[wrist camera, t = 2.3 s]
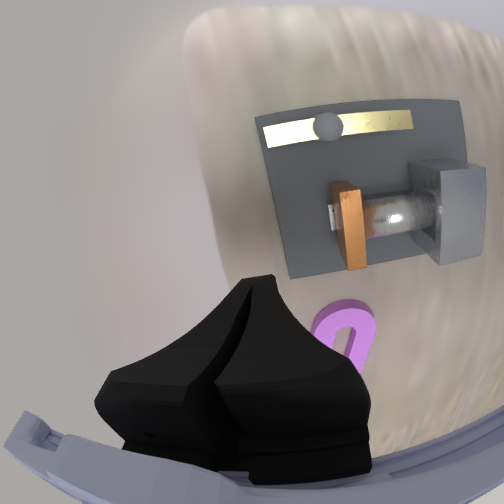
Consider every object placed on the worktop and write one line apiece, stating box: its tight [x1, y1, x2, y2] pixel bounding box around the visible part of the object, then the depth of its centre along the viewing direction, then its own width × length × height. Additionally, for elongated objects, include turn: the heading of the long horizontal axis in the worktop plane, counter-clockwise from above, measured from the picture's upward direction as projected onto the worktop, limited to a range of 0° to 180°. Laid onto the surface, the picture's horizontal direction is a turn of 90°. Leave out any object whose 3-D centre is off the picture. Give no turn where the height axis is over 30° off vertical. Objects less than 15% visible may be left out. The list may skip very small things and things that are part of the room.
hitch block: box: [326, 158, 486, 266], centre depth 16 cm, size 12×6×5 cm, turn 103°
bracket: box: [312, 300, 377, 374], centre depth 21 cm, size 13×6×7 cm, turn 179°
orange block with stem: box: [330, 181, 436, 271], centre depth 16 cm, size 7×5×3 cm
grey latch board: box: [255, 99, 467, 279], centre depth 16 cm, size 16×12×4 cm
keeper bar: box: [263, 110, 413, 148], centre depth 14 cm, size 9×1×2 cm, turn 103°
